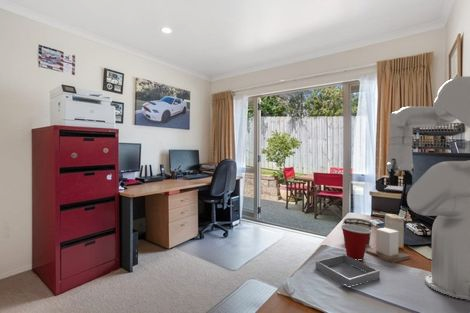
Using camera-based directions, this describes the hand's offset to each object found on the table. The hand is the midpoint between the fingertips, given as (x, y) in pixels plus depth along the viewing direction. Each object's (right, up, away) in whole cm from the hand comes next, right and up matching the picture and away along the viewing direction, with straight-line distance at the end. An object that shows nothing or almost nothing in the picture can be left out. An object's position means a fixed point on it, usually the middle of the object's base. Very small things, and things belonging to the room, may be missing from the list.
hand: (400, 185), depth 96 cm
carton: (-5, -27, +1) cm, 28 cm away
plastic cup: (-19, -28, -2) cm, 34 cm away
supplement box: (+6, -29, +13) cm, 32 cm away
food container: (-9, -28, +17) cm, 34 cm away
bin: (-28, -28, -14) cm, 42 cm away
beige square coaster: (-5, -28, +1) cm, 29 cm away
